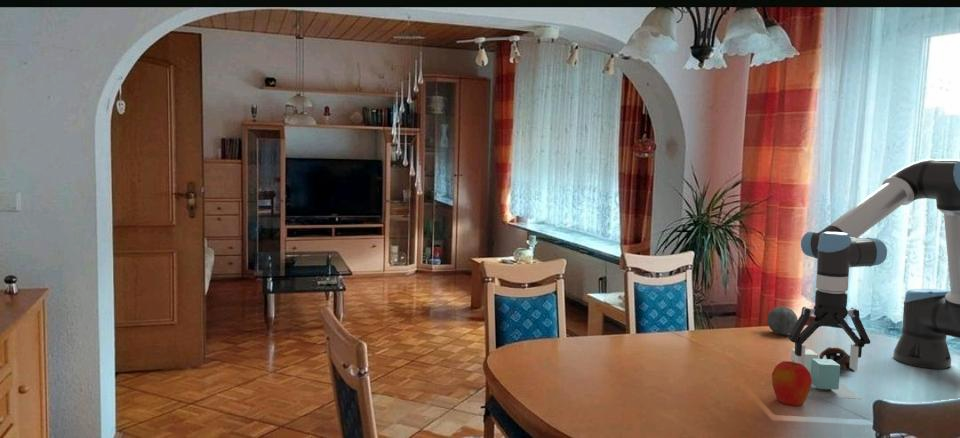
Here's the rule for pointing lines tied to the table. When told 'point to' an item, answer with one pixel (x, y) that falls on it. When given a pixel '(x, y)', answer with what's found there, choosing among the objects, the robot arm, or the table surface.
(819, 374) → the pale aqua cube
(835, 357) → the dark brown curved piece
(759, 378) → the table surface
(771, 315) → the decorative ball
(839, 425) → the table surface
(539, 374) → the table surface
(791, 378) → the apple
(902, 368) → the table surface
